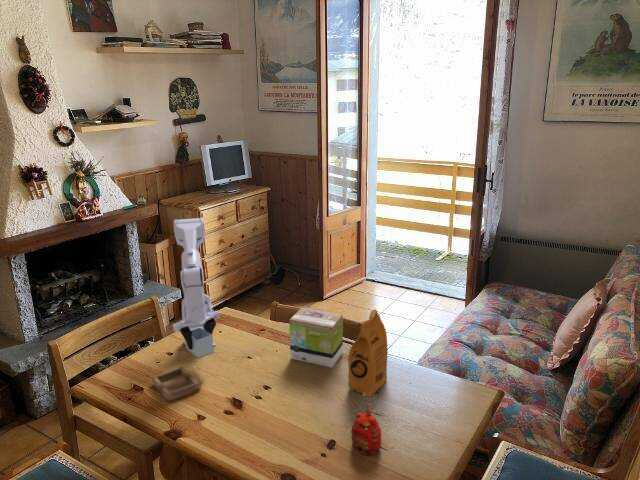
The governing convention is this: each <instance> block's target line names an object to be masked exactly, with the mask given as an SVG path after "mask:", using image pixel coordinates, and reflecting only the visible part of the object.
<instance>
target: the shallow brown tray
mask: <svg viewBox="0 0 640 480" xmlns="http://www.w3.org/2000/svg"><path fill="white" fill-rule="evenodd" d="M152 384H153V386H154V387H155V388H156V390H157V391H158V392H159V393H160V394H161V395H162V396H163V397H164V399H165V400H166V401H167V403H169V404H170V403H172V402H176V401H177V400H180V399H183V398H185V397H188V396H189V395H192V394H195V393H197V392H199V391H200V392H201V387H200V382H199V381H197V379H195V377H194V376H193V375H191V373H189V371H187V370H186V368H184V367H183V366H179V367H177V368H174V369H171V370H168V371H165V372H163V373H161V374H158V375H156V376H155V375H154V376H152Z"/></svg>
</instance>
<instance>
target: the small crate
mask: <svg viewBox="0 0 640 480" xmlns="http://www.w3.org/2000/svg"><path fill="white" fill-rule="evenodd" d="M191 331H192V346H193V349H191V350H190V349H189V348H188V346H187V343H186V344H185V348H186V350H187V351H188V352H189V353H190V354H191V355H193V356H194V357H195V358H196V359H201V358H205V357H206V356H210V355H212V354H214V353H215V350H214V347H215V346H213V342H214V338H213V337H214V336H213V334H212V335H211V334H210V333H209V332H207V331H206V330H205V329H203V328H202V327H201V326H200V327H197V328H194V329H191Z"/></svg>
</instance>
